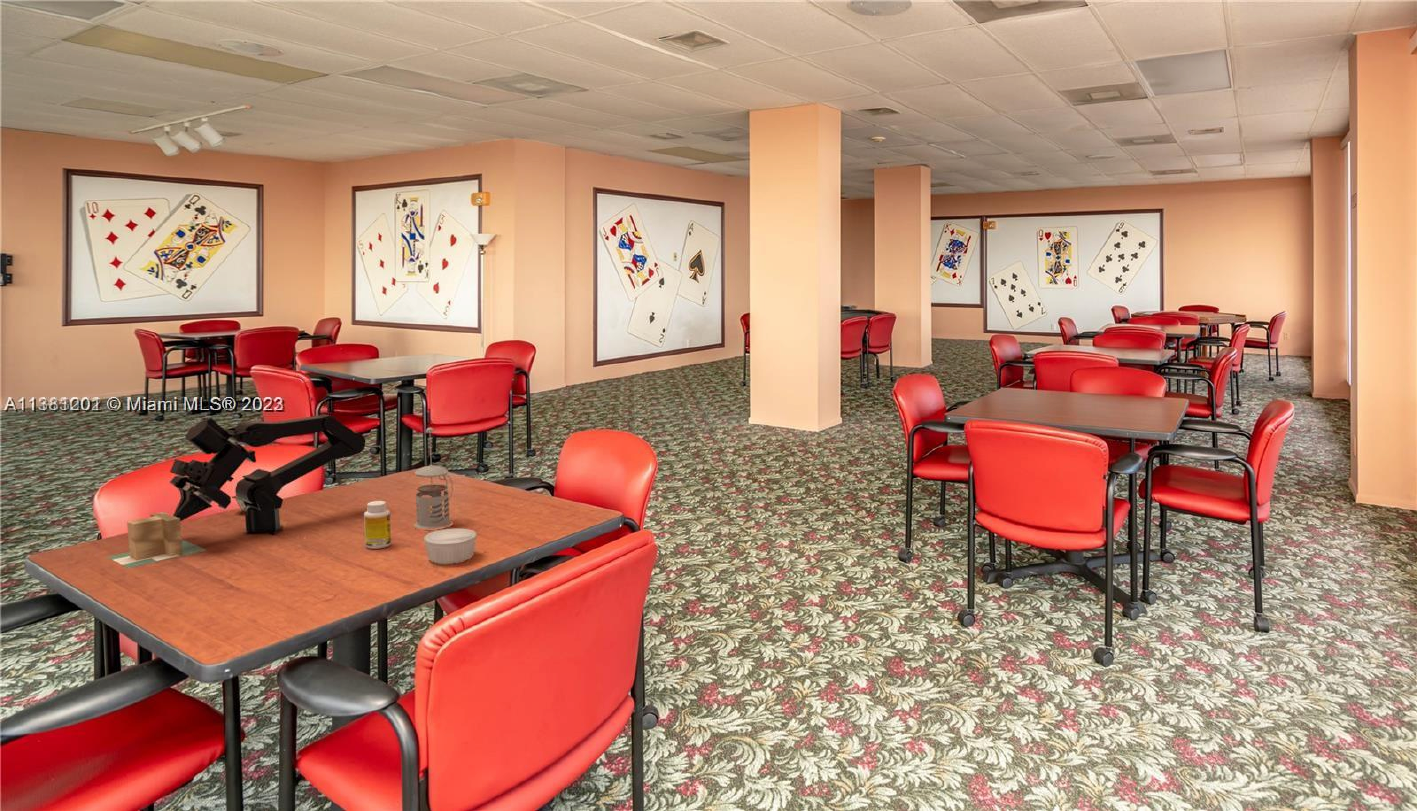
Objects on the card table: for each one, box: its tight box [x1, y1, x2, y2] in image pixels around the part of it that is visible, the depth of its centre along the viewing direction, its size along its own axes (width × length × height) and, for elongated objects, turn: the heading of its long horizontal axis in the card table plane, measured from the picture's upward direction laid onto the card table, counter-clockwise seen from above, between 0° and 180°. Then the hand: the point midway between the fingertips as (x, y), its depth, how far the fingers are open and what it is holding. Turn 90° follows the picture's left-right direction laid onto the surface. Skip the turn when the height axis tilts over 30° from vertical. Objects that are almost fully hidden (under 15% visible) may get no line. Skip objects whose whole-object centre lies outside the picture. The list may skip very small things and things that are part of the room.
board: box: [107, 539, 207, 569], centre depth 185 cm, size 16×12×1 cm
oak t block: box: [126, 511, 183, 560], centre depth 184 cm, size 8×9×8 cm
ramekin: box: [423, 528, 478, 565], centre depth 185 cm, size 11×11×5 cm
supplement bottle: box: [363, 500, 392, 550], centre depth 193 cm, size 6×6×10 cm
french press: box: [413, 427, 454, 529], centre depth 210 cm, size 10×12×25 cm
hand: (173, 522), depth 187 cm, fingers closed
